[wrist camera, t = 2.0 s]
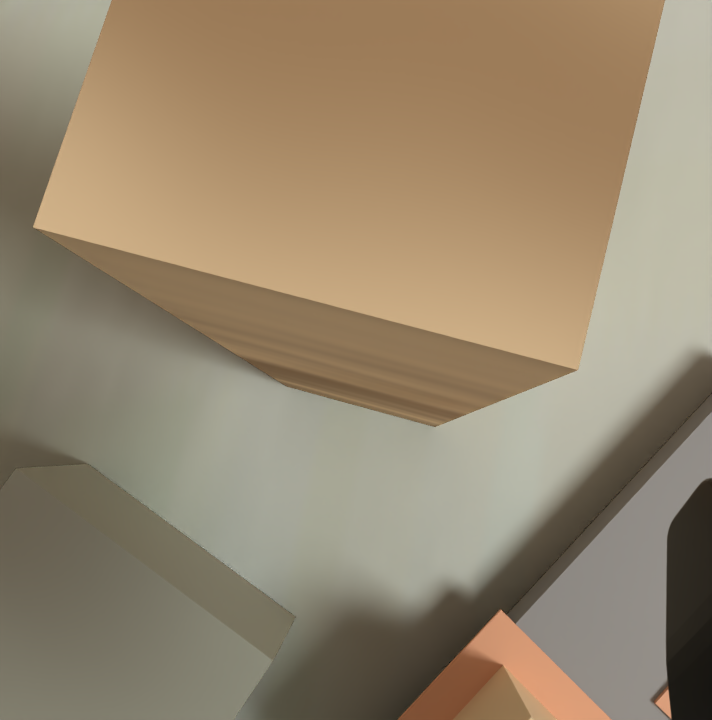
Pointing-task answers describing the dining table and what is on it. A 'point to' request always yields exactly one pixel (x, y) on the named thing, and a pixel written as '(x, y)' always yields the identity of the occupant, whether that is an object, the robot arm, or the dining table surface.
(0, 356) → the dining table surface
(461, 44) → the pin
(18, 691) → the cover
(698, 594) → the robot arm
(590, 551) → the board
